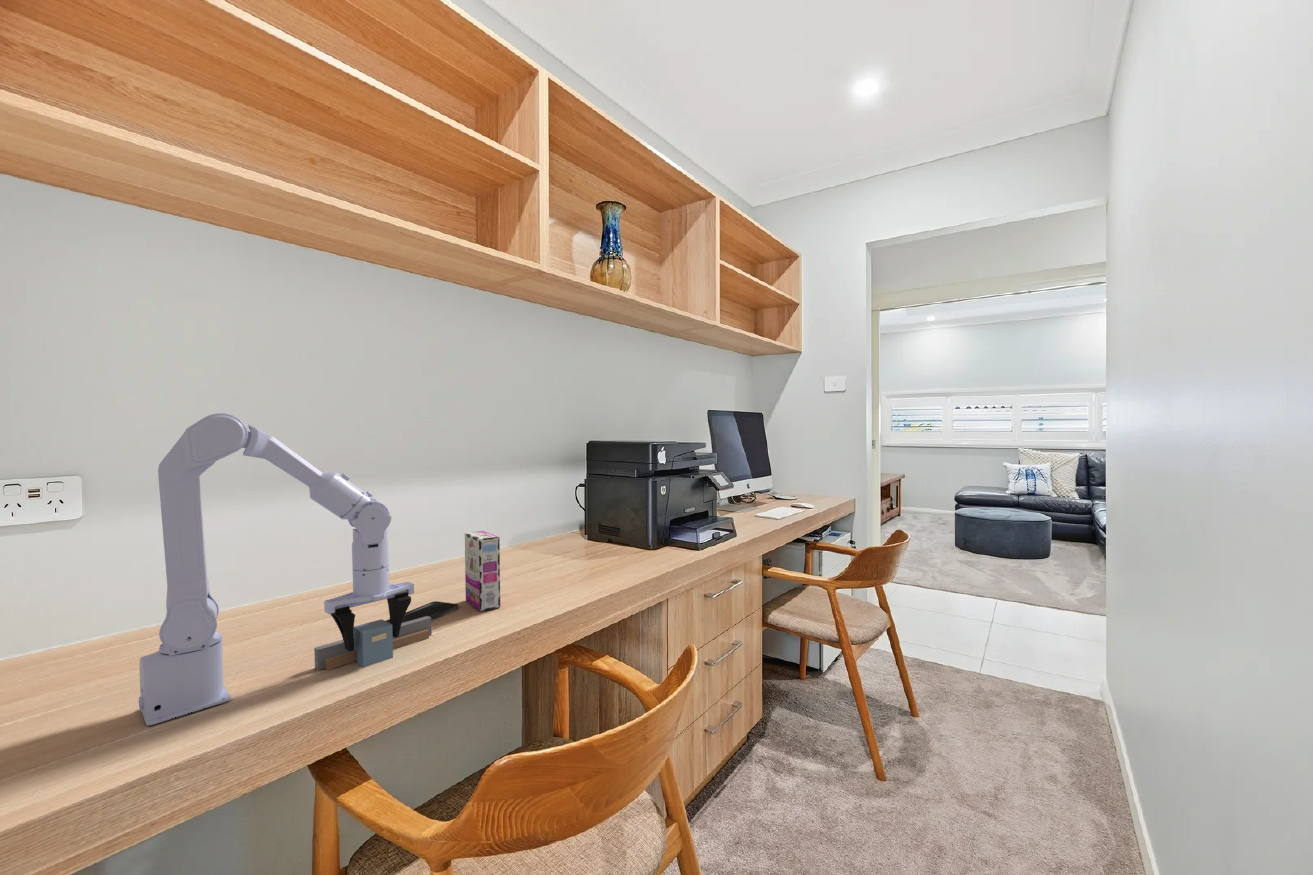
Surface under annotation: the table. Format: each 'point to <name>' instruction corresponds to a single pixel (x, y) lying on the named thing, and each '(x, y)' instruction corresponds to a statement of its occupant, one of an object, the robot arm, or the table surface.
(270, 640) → the table surface
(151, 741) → the table surface
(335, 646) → the grey and brown bar
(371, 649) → the cabinet
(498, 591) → the candy bar box
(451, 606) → the phone
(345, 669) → the table surface
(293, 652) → the table surface
